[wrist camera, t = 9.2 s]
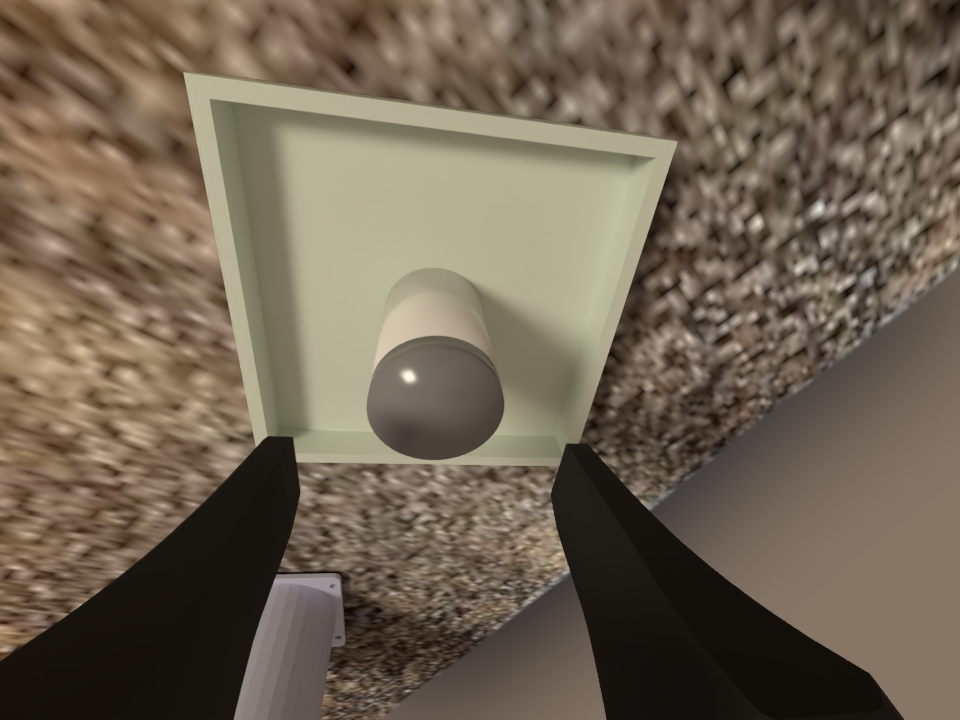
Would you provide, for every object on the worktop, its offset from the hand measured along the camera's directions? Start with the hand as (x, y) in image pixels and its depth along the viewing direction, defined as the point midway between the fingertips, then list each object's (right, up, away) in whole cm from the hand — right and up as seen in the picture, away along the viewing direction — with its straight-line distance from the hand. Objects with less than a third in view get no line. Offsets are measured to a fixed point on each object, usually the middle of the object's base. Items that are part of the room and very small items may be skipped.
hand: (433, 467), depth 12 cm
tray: (-1, +6, +9) cm, 10 cm away
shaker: (-1, +5, +8) cm, 10 cm away
